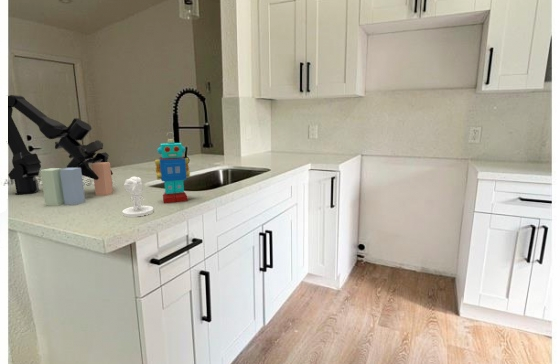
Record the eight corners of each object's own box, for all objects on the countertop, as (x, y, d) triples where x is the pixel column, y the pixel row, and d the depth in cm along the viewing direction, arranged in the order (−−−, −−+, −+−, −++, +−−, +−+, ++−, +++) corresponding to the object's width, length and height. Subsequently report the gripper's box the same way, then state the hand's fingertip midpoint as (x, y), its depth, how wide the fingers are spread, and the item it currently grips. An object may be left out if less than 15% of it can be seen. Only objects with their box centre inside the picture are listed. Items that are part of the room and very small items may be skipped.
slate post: (64, 204, 115) (59, 169, 112) (73, 201, 119) (69, 167, 117) (76, 204, 114) (72, 169, 112) (85, 201, 119) (80, 167, 116)
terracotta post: (95, 195, 128) (91, 163, 125) (102, 192, 132) (99, 162, 129) (106, 195, 127) (102, 164, 125) (113, 192, 132) (109, 162, 129)
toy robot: (159, 204, 115) (153, 133, 110) (158, 199, 121) (152, 132, 115) (192, 200, 120) (188, 132, 114) (189, 196, 125) (185, 131, 120)
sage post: (45, 205, 114) (40, 170, 111) (55, 202, 118) (50, 168, 115) (57, 205, 113) (52, 170, 111) (67, 202, 118) (62, 168, 115)
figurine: (134, 219, 99) (130, 180, 96) (116, 214, 104) (112, 177, 101) (159, 211, 106) (156, 175, 104) (141, 207, 111) (138, 173, 109)
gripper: (69, 135, 116) (102, 166, 117) (101, 132, 134) (130, 159, 135) (52, 157, 118) (85, 187, 120) (86, 151, 136) (114, 177, 138)
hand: (105, 176), depth 128 cm, fingers open, 9 cm apart
